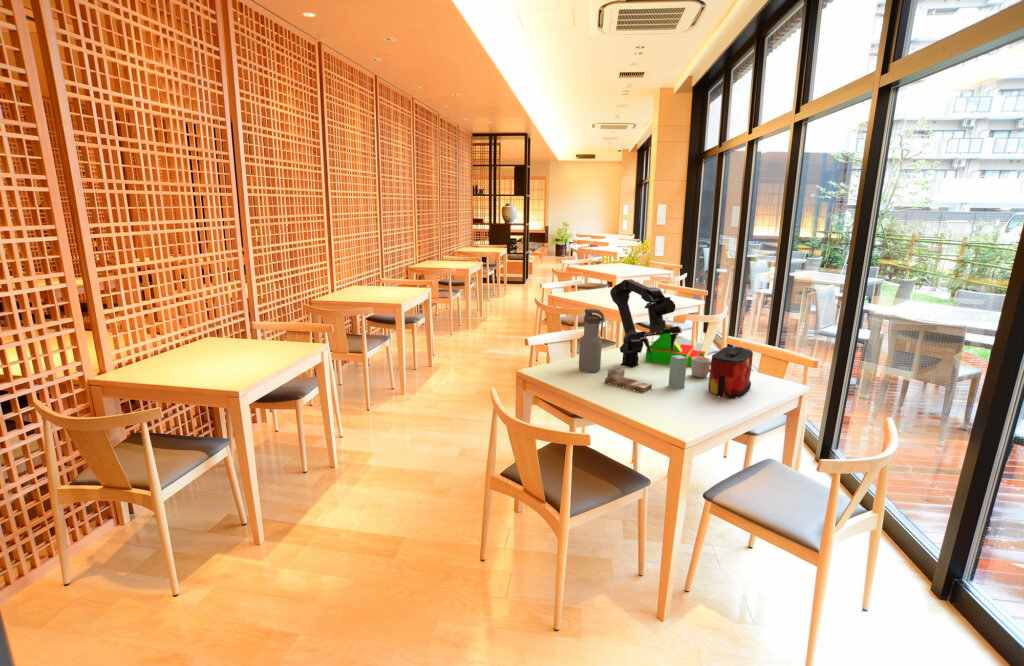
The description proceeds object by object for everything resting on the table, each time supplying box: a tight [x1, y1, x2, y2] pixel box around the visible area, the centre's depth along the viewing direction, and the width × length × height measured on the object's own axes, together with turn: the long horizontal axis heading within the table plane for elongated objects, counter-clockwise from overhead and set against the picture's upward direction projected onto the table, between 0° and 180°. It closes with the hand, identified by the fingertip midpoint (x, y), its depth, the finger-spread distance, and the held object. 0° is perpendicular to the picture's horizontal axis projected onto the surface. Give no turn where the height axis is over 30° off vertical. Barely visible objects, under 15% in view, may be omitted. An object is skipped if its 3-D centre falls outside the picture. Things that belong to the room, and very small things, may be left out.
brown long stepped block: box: [604, 366, 653, 394], centre depth 219 cm, size 18×7×6 cm, turn 48°
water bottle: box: [578, 308, 605, 373], centre depth 237 cm, size 10×10×28 cm
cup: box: [691, 356, 711, 379], centre depth 233 cm, size 11×8×8 cm
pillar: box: [667, 355, 687, 390], centre depth 218 cm, size 4×4×13 cm
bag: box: [707, 346, 754, 399], centre depth 216 cm, size 30×14×16 cm, turn 142°
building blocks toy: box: [645, 323, 707, 368], centre depth 256 cm, size 19×25×18 cm
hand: (661, 352), depth 226 cm, fingers open, 9 cm apart
